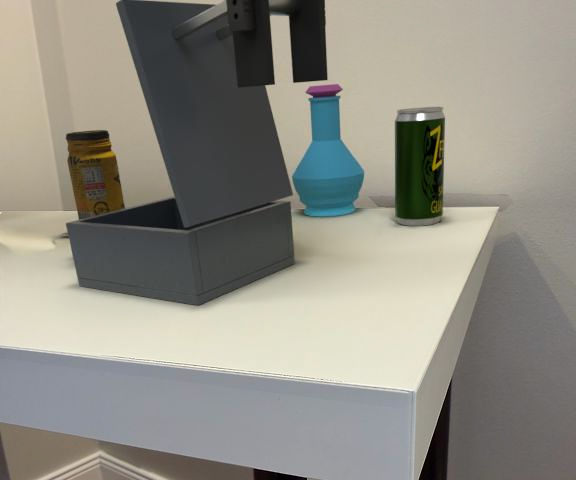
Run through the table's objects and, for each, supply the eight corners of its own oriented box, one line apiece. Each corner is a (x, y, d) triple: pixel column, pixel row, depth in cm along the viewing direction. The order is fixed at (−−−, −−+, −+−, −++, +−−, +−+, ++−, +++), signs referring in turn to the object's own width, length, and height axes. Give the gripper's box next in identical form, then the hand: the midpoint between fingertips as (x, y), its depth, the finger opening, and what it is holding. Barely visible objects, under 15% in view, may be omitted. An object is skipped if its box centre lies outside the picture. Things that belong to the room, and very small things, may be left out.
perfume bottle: (329, 202, 91) (323, 84, 85) (380, 207, 85) (378, 80, 79) (280, 214, 86) (270, 89, 80) (330, 221, 79) (324, 85, 73)
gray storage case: (78, 286, 61) (65, 222, 58) (181, 251, 70) (173, 196, 68) (198, 305, 52) (188, 232, 50) (295, 263, 62) (290, 201, 60)
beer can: (390, 226, 74) (389, 111, 69) (400, 216, 79) (400, 108, 74) (438, 226, 72) (440, 108, 67) (446, 216, 77) (449, 105, 72)
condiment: (139, 222, 89) (123, 127, 84) (112, 236, 81) (93, 133, 76) (90, 224, 90) (71, 131, 85) (59, 238, 83) (37, 137, 78)
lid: (114, 3, 46) (202, -54, 40) (238, 9, 55) (322, -36, 50) (183, 228, 50) (271, 205, 44) (286, 197, 60) (368, 175, 54)
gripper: (189, -478, 29) (242, 87, 39) (388, -313, 43) (391, 74, 53) (82, -399, 33) (154, 94, 43) (295, -271, 47) (313, 81, 57)
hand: (284, 83), depth 48 cm, fingers open, 6 cm apart
